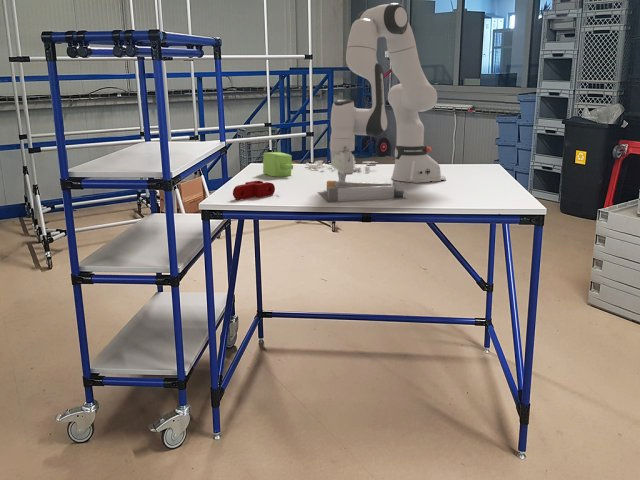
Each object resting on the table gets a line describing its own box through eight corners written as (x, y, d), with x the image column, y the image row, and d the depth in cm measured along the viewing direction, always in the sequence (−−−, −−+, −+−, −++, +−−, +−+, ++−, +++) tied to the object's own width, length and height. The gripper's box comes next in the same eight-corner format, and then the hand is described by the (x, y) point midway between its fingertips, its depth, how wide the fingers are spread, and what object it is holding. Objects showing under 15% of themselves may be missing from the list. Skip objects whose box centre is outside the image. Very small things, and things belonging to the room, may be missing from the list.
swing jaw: (391, 194, 208) (391, 182, 207) (390, 195, 206) (391, 183, 205) (327, 192, 212) (327, 180, 211) (326, 193, 210) (326, 181, 208)
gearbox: (299, 177, 251) (300, 155, 249) (280, 179, 246) (280, 156, 243) (279, 171, 266) (279, 150, 263) (260, 172, 260) (260, 151, 258)
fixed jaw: (401, 195, 207) (401, 181, 206) (406, 198, 202) (406, 184, 201) (325, 198, 202) (325, 184, 200) (329, 202, 197) (329, 187, 195)
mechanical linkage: (261, 192, 219) (261, 179, 217) (275, 195, 214) (274, 181, 213) (228, 199, 207) (228, 185, 206) (241, 202, 203) (241, 188, 201)
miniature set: (379, 167, 271) (377, 175, 261) (306, 169, 279) (301, 177, 268) (379, 153, 269) (376, 161, 258) (305, 156, 276) (299, 164, 265)
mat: (390, 191, 218) (390, 189, 218) (406, 201, 202) (407, 198, 201) (317, 194, 213) (317, 192, 213) (328, 205, 196) (328, 202, 196)
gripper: (358, 148, 202) (357, 187, 206) (344, 142, 222) (343, 178, 225) (340, 149, 201) (340, 188, 205) (328, 142, 220) (327, 178, 224)
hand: (341, 183), depth 215 cm, fingers closed
